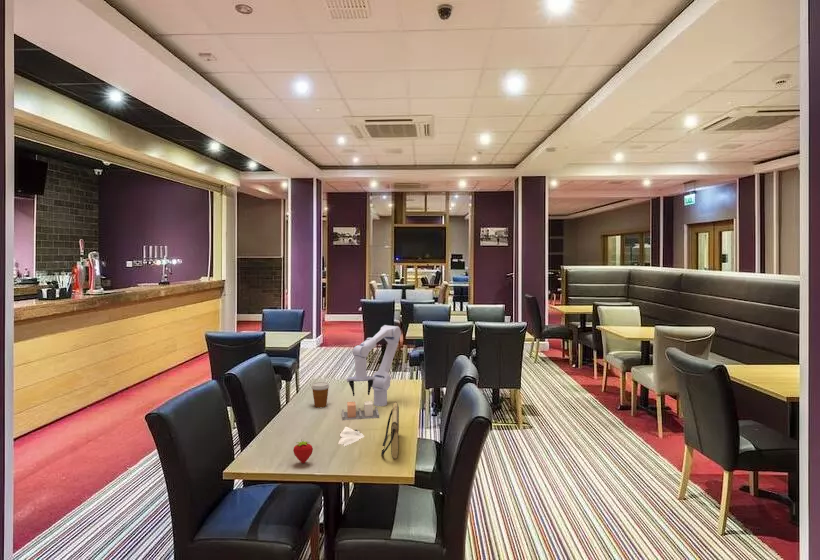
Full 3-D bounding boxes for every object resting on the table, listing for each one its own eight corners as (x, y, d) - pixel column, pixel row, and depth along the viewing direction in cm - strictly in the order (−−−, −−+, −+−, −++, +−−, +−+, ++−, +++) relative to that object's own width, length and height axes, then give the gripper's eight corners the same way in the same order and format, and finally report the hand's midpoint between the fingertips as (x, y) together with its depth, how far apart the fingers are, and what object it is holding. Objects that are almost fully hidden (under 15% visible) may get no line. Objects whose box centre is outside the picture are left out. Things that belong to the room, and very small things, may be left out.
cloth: (355, 450, 193) (355, 444, 193) (324, 448, 195) (324, 442, 195) (371, 428, 218) (371, 423, 218) (344, 426, 221) (344, 421, 221)
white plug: (364, 412, 235) (364, 401, 235) (372, 412, 236) (371, 400, 236) (365, 416, 230) (364, 404, 229) (373, 416, 230) (372, 404, 230)
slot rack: (341, 414, 237) (341, 409, 236) (376, 412, 240) (376, 407, 239) (342, 422, 225) (342, 417, 225) (379, 419, 228) (379, 414, 228)
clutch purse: (383, 433, 210) (383, 401, 209) (399, 433, 210) (398, 400, 209) (380, 461, 180) (380, 423, 179) (398, 461, 180) (398, 423, 179)
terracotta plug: (347, 413, 234) (347, 402, 234) (355, 413, 235) (355, 401, 235) (347, 417, 228) (347, 405, 228) (355, 417, 229) (355, 405, 229)
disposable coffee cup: (308, 407, 248) (307, 385, 247) (318, 402, 257) (317, 381, 256) (323, 409, 244) (323, 387, 244) (332, 404, 253) (332, 382, 253)
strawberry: (311, 466, 176) (310, 441, 175) (291, 466, 176) (291, 440, 176) (314, 460, 182) (314, 435, 181) (295, 460, 182) (295, 435, 181)
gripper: (346, 371, 232) (347, 398, 233) (375, 369, 235) (375, 396, 235) (346, 368, 239) (346, 394, 240) (374, 366, 242) (374, 392, 242)
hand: (361, 395), depth 238 cm, fingers open, 7 cm apart
